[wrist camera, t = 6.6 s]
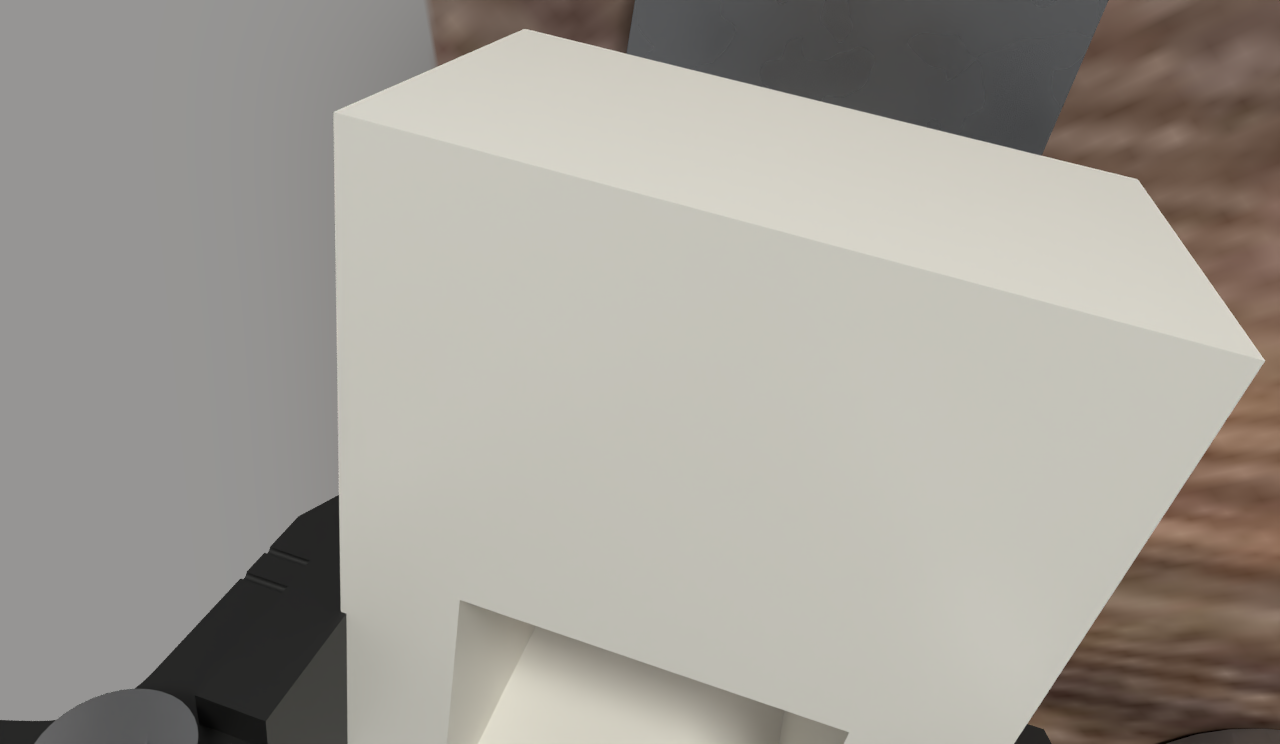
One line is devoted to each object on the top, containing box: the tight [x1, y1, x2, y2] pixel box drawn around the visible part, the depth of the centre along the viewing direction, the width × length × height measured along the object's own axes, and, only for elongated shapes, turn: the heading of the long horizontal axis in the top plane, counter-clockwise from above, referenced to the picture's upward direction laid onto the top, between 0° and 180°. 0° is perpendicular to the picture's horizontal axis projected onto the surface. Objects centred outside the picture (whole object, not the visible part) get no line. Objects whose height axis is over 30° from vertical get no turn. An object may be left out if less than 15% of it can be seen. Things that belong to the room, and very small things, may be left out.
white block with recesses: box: [334, 29, 1265, 744], centre depth 10 cm, size 12×6×4 cm, turn 169°
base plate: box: [627, 0, 1108, 156], centre depth 22 cm, size 13×10×4 cm
